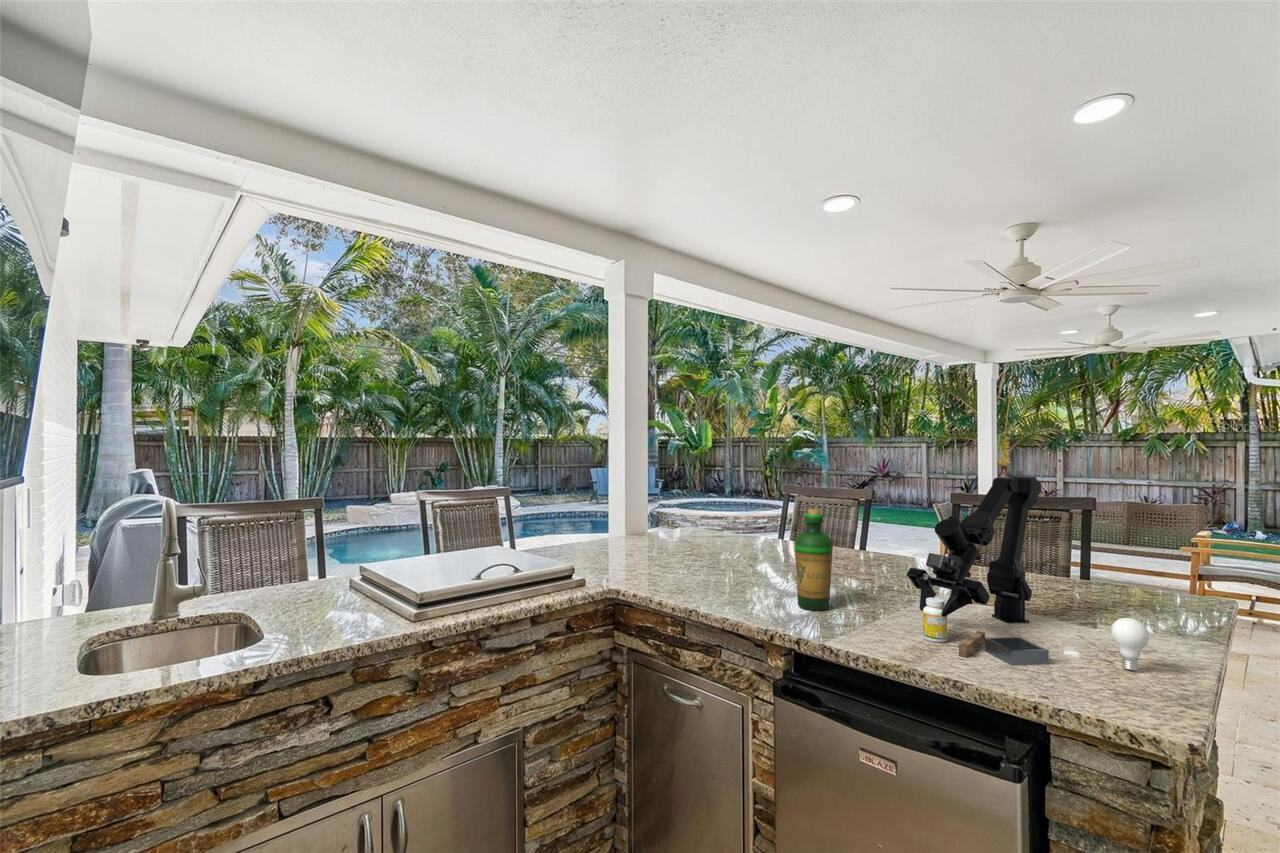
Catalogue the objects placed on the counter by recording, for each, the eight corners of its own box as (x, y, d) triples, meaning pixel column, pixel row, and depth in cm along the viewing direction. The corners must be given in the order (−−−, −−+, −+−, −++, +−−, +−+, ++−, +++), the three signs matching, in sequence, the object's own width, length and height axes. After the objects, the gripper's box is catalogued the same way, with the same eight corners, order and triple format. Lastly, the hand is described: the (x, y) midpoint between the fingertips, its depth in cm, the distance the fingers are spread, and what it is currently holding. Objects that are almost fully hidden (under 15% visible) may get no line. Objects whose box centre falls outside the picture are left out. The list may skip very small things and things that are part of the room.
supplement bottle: (943, 644, 144) (943, 603, 144) (919, 639, 147) (920, 599, 148) (950, 639, 148) (950, 599, 148) (926, 634, 151) (926, 595, 152)
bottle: (791, 610, 172) (792, 510, 172) (796, 600, 182) (797, 506, 182) (831, 614, 168) (831, 512, 168) (834, 604, 178) (834, 508, 178)
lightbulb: (1103, 665, 132) (1103, 614, 132) (1130, 664, 132) (1130, 613, 132) (1129, 676, 125) (1129, 623, 125) (1157, 676, 126) (1157, 622, 126)
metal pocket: (1020, 650, 140) (1020, 637, 140) (1048, 664, 132) (1048, 650, 132) (985, 651, 140) (984, 638, 140) (1011, 665, 131) (1011, 651, 131)
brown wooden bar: (977, 641, 146) (977, 630, 146) (985, 643, 145) (985, 632, 145) (958, 655, 136) (958, 644, 136) (966, 657, 135) (966, 646, 135)
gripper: (911, 536, 158) (883, 583, 152) (982, 547, 142) (954, 601, 136) (929, 563, 162) (903, 611, 156) (1001, 577, 146) (974, 631, 140)
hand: (931, 612), depth 147 cm, fingers closed on supplement bottle, 5 cm apart
